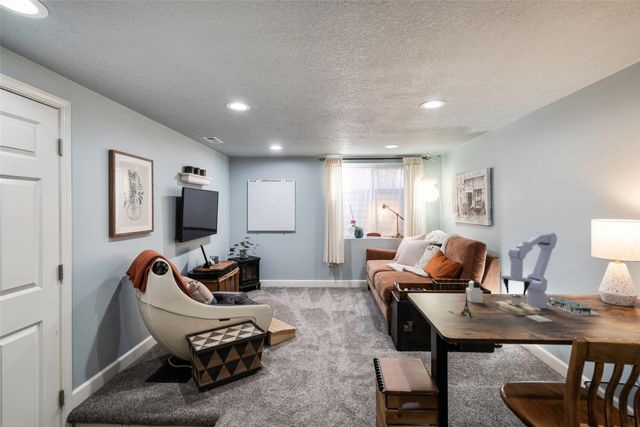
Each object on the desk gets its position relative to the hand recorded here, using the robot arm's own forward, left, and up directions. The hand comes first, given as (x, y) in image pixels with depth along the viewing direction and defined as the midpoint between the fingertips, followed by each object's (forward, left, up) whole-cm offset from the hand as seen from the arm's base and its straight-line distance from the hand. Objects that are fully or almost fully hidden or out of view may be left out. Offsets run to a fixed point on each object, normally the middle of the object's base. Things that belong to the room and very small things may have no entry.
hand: (515, 293), depth 167 cm
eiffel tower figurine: (+34, +3, -10) cm, 36 cm away
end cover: (0, 0, -9) cm, 9 cm away
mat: (0, +14, -9) cm, 17 cm away
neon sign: (-42, +3, -10) cm, 43 cm away
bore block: (0, 0, -9) cm, 9 cm away
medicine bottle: (+12, -18, -9) cm, 24 cm away
